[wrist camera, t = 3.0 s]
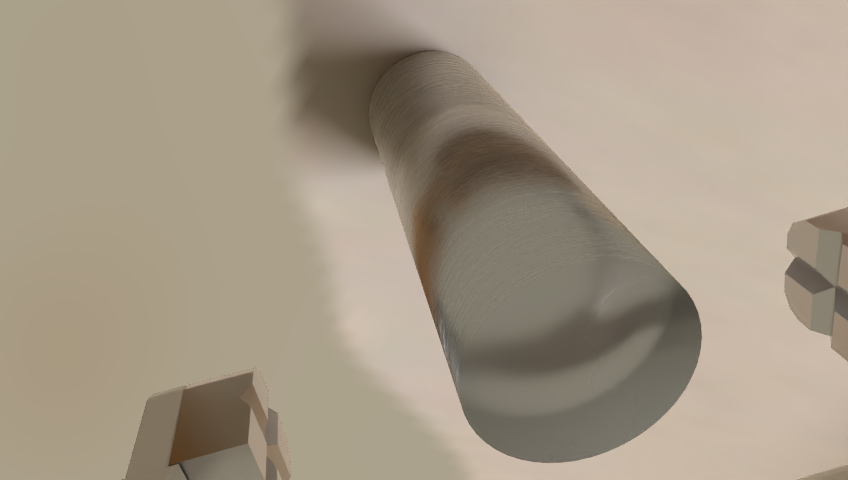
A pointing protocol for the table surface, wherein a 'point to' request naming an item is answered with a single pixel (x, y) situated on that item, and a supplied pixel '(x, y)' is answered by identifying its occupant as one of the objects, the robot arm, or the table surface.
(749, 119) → the table surface
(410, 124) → the pin
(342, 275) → the table surface
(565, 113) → the table surface
